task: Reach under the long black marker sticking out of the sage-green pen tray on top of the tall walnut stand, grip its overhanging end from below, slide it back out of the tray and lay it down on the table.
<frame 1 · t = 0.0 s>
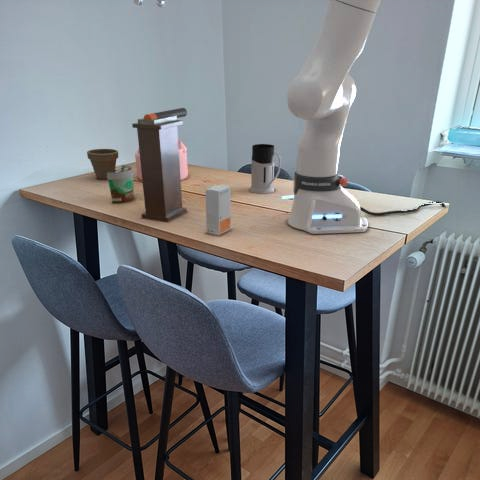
hand: (148, 5, 134), 54 cm above the table, tool tilted 30°, fingers open, 8 cm apart
stand: (165, 214, 142), on the table
cake: (163, 177, 184), on the table
food container: (127, 200, 156), on the table
cosmetic box: (219, 232, 128), on the table
marker: (166, 115, 132), point 27 cm above the table, touching stand
flower pot: (106, 178, 183), on the table
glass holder: (266, 192, 165), on the table
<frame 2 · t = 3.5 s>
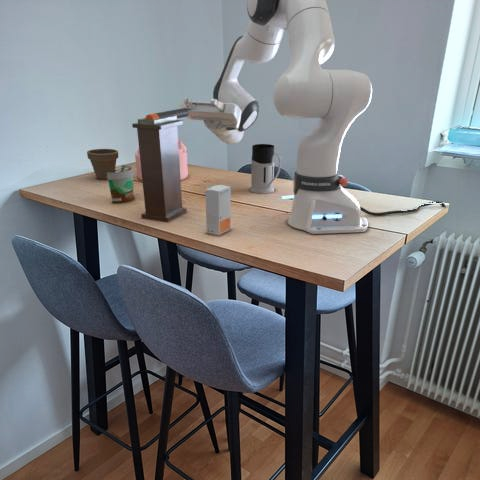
hand: (199, 100, 146), 30 cm above the table, tool pointing upward, fingers open, 8 cm apart
marker: (168, 115, 132), point 27 cm above the table, tilted 28°, touching stand
everything else where it was.
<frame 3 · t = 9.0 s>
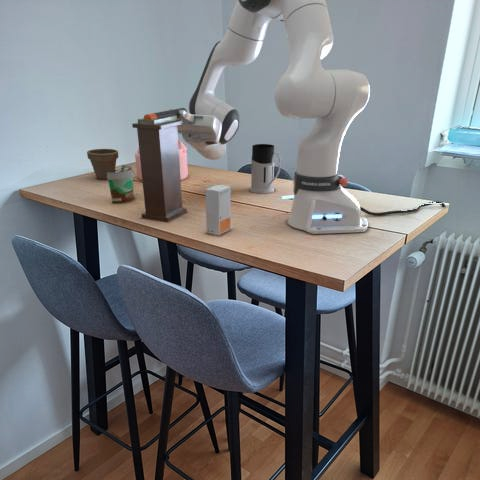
hand: (175, 112, 135), 28 cm above the table, tool pointing upward, fingers closed on marker, 2 cm apart
marker: (166, 115, 132), point 27 cm above the table, touching gripper, stand
everything else where it was.
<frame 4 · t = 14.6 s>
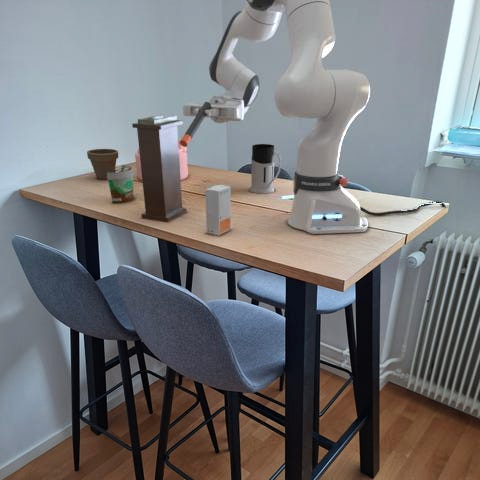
hand: (201, 112, 149), 26 cm above the table, tool horizontal, fingers closed on marker, 2 cm apart
marker: (195, 123, 147), point 23 cm above the table, tilted 30°, touching gripper
everything else where it was.
when the fingers open (8 cm above the table, at t = 19.5 s): marker drops 4 cm, point 1 cm above the table.
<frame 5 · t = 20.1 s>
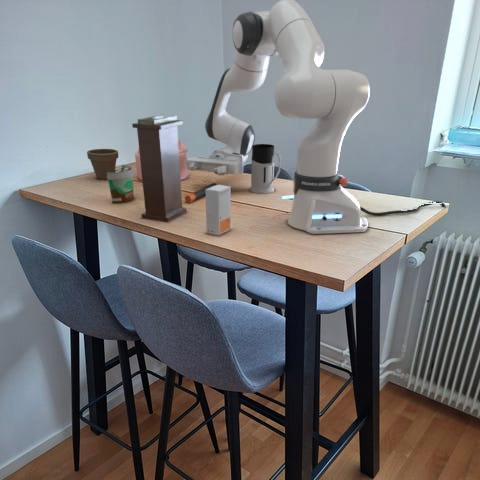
hand: (203, 169, 157), 8 cm above the table, tool horizontal, fingers open, 8 cm apart
marker: (201, 192, 160), point 1 cm above the table, tilted 9°
everything else where it was.
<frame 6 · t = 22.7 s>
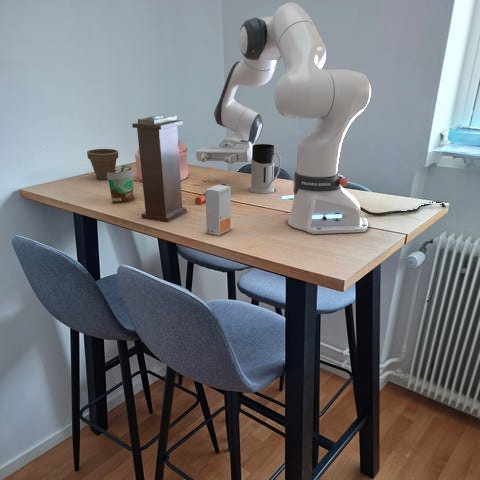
hand: (214, 159, 162), 10 cm above the table, tool horizontal, fingers open, 8 cm apart
marker: (211, 193, 158), point 1 cm above the table, tilted 173°
everything else where it was.
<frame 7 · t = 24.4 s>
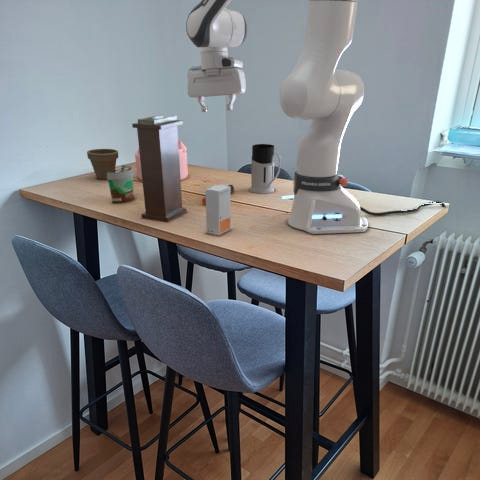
hand: (217, 111, 155), 26 cm above the table, tool pointing down, fingers open, 8 cm apart
marker: (218, 194, 157), point 1 cm above the table, tilted 47°
everything else where it was.
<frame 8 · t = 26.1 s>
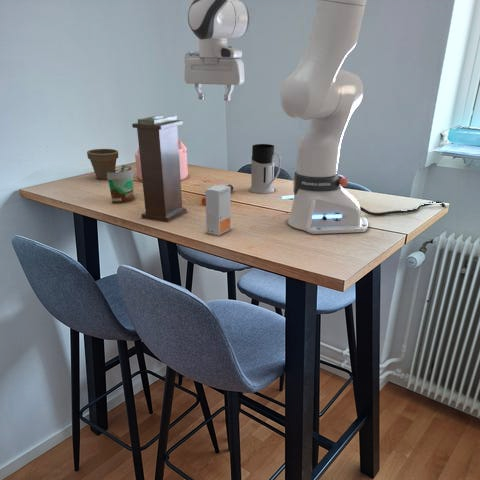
hand: (214, 100, 153), 29 cm above the table, tool pointing down, fingers open, 8 cm apart
marker: (217, 194, 157), point 1 cm above the table, tilted 60°
everything else where it was.
at the end: marker inside the target area (6.7 cm from its centre), point 1.2 cm above the table; the gripper is holding nothing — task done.
